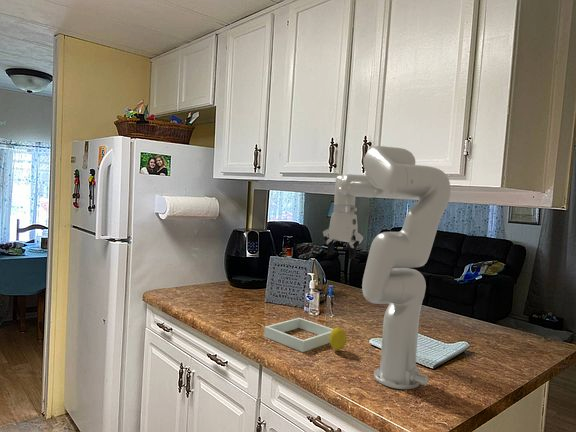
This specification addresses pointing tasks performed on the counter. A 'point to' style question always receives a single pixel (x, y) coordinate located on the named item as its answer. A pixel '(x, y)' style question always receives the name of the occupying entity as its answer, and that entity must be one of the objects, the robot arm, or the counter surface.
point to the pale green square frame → (301, 345)
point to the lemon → (337, 338)
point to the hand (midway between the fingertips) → (340, 256)
